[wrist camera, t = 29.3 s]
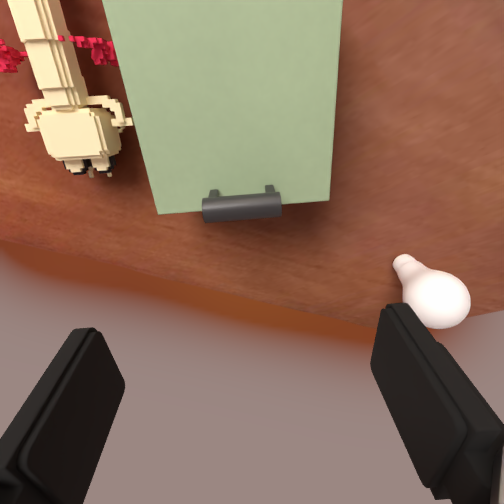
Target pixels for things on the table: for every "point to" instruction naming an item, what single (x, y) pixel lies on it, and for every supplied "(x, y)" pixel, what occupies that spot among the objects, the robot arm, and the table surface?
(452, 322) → the lightbulb
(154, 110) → the lid
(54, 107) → the cream blocky long piece
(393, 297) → the table surface
